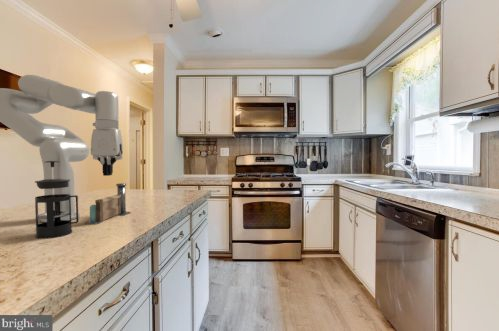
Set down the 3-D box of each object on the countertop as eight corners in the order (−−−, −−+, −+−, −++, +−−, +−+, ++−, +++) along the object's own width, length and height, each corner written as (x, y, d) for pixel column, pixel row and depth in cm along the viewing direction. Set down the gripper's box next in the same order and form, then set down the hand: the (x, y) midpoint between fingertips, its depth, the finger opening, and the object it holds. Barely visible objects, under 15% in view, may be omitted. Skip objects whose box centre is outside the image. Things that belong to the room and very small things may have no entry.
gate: (117, 213, 112) (117, 194, 112) (121, 213, 112) (120, 194, 111) (95, 221, 97) (95, 200, 97) (100, 221, 97) (99, 200, 97)
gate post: (119, 212, 116) (118, 183, 116) (130, 212, 116) (129, 183, 115) (112, 215, 111) (112, 184, 111) (124, 215, 111) (123, 184, 110)
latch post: (92, 221, 101) (91, 203, 100) (102, 221, 100) (102, 203, 100) (85, 224, 97) (84, 205, 96) (95, 224, 96) (95, 205, 96)
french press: (28, 240, 78) (25, 161, 77) (37, 232, 86) (35, 160, 86) (75, 235, 83) (73, 160, 82) (80, 228, 91) (78, 160, 91)
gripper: (80, 124, 96) (81, 175, 97) (121, 124, 96) (121, 176, 96) (94, 126, 104) (94, 174, 105) (131, 127, 103) (132, 174, 104)
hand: (107, 175), depth 100 cm, fingers closed
